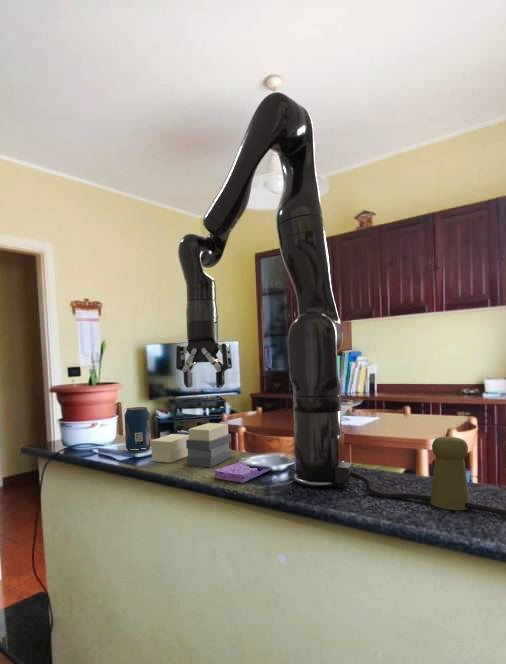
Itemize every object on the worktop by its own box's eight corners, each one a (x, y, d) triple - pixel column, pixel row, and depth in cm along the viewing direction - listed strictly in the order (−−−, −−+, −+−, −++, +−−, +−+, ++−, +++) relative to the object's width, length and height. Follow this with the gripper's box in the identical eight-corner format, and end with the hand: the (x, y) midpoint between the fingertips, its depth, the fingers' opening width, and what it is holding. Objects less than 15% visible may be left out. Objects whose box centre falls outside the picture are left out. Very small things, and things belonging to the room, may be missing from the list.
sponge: (214, 478, 89) (214, 470, 89) (246, 465, 100) (246, 457, 99) (243, 483, 85) (242, 474, 85) (273, 469, 95) (273, 461, 95)
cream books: (191, 454, 113) (191, 434, 113) (170, 463, 104) (169, 441, 104) (173, 452, 116) (172, 433, 116) (150, 461, 107) (149, 440, 107)
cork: (455, 512, 66) (455, 442, 66) (421, 501, 72) (421, 436, 71) (479, 505, 69) (479, 438, 68) (444, 495, 74) (444, 432, 74)
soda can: (125, 449, 123) (124, 407, 122) (150, 447, 124) (148, 406, 124) (126, 454, 116) (124, 410, 115) (152, 452, 118) (150, 408, 117)
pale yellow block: (228, 433, 108) (228, 423, 108) (209, 441, 99) (208, 430, 99) (208, 432, 111) (208, 422, 111) (188, 439, 102) (188, 428, 102)
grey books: (232, 457, 109) (231, 433, 108) (211, 467, 99) (210, 441, 98) (208, 455, 112) (207, 432, 112) (185, 465, 102) (184, 440, 102)
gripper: (168, 321, 103) (171, 388, 104) (221, 317, 97) (223, 388, 98) (185, 323, 110) (187, 386, 111) (235, 319, 103) (237, 386, 104)
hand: (204, 387), depth 104 cm, fingers open, 8 cm apart
